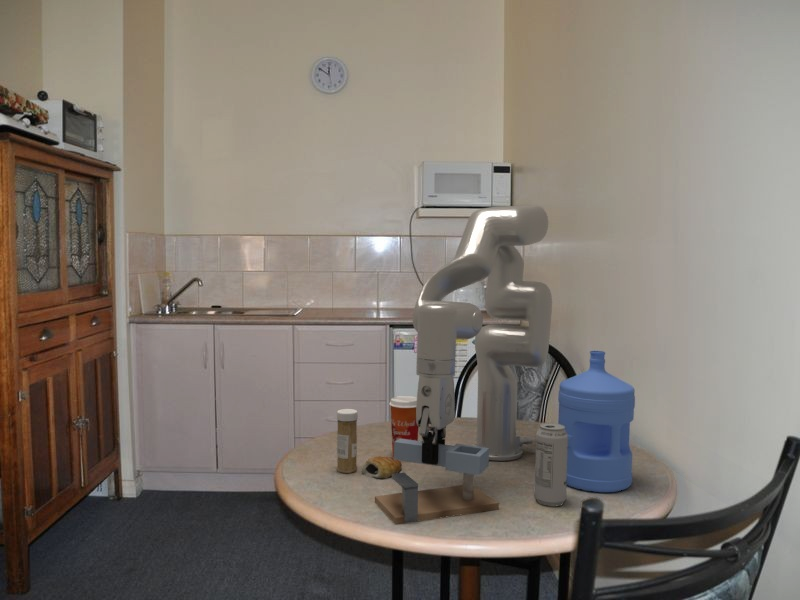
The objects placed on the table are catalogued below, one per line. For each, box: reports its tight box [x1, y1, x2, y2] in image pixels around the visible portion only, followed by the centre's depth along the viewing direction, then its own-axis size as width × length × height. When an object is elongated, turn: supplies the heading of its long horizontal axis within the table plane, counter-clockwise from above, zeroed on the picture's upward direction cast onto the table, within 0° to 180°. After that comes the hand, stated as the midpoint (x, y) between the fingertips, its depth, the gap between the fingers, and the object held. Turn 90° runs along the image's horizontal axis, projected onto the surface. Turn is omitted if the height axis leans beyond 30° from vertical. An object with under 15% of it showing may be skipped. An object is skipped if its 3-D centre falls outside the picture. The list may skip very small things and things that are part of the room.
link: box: [393, 438, 490, 476], centre depth 124 cm, size 18×7×4 cm, turn 67°
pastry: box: [361, 456, 403, 479], centre depth 141 cm, size 9×7×4 cm
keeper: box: [391, 472, 419, 524], centre depth 117 cm, size 2×7×7 cm, turn 22°
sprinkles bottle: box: [336, 408, 359, 474], centre depth 141 cm, size 5×5×13 cm
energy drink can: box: [534, 422, 568, 507], centre depth 124 cm, size 6×6×15 cm
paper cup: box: [388, 395, 420, 458], centre depth 152 cm, size 8×8×14 cm
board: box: [374, 473, 500, 525], centre depth 122 cm, size 21×11×6 cm, turn 112°
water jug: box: [557, 350, 636, 493], centre depth 136 cm, size 16×16×28 cm
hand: (433, 460), depth 124 cm, fingers closed on link, 3 cm apart
